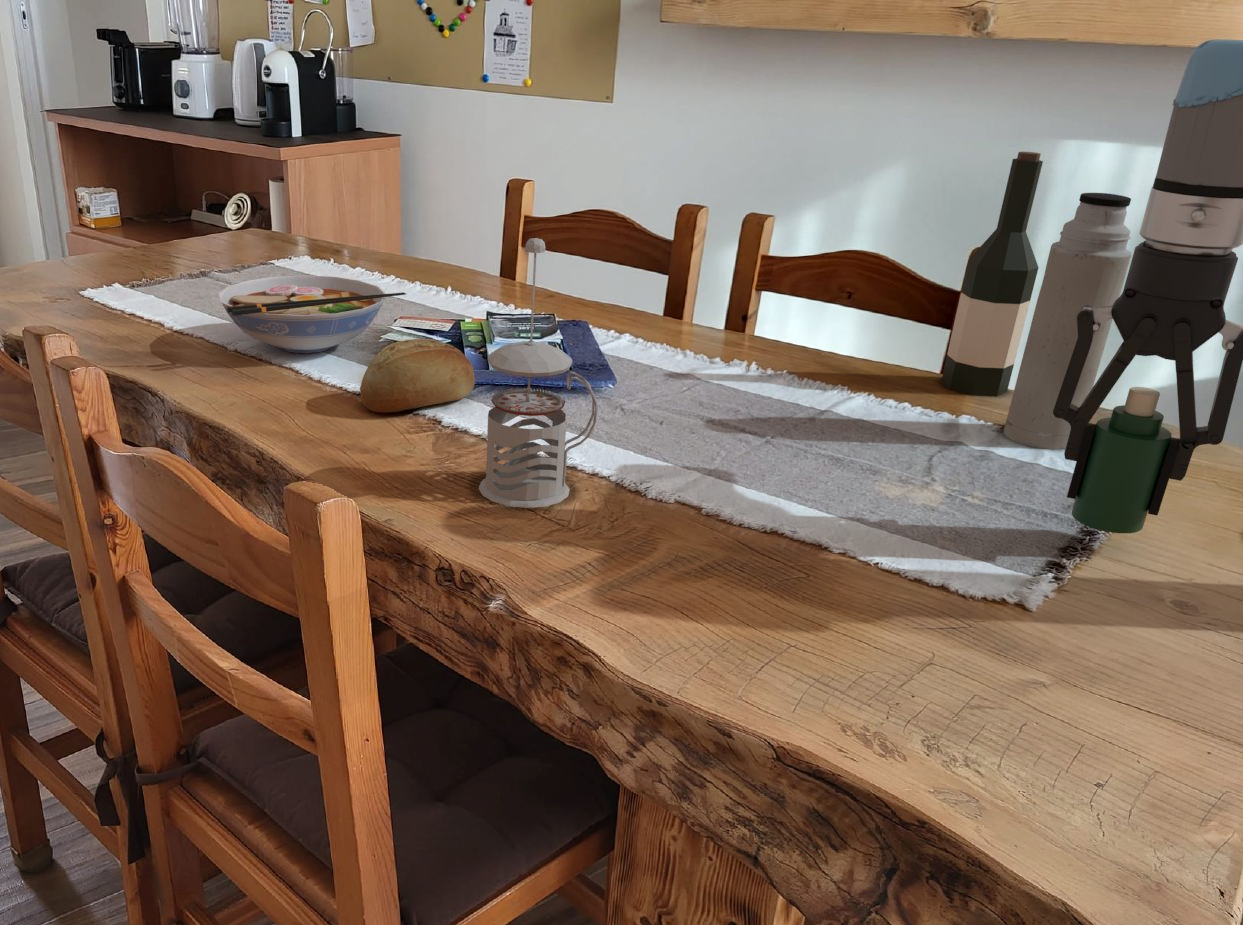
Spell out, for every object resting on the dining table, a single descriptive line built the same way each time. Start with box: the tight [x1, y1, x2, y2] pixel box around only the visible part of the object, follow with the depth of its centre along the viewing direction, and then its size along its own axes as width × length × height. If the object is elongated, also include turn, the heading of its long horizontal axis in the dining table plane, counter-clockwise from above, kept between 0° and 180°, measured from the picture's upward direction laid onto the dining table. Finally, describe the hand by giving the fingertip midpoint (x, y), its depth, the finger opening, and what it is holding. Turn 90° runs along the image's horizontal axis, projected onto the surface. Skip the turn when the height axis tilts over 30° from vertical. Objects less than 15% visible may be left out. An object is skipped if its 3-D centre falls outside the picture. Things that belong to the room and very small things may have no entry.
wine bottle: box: [940, 151, 1044, 398], centre depth 138 cm, size 8×8×30 cm
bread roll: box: [359, 338, 476, 414], centre depth 129 cm, size 10×15×8 cm, turn 124°
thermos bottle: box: [1003, 192, 1133, 451], centre depth 122 cm, size 8×8×28 cm
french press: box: [478, 237, 599, 509], centre depth 103 cm, size 10×12×25 cm
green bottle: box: [1071, 386, 1173, 534], centre depth 98 cm, size 6×6×12 cm
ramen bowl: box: [217, 274, 407, 354], centre depth 149 cm, size 25×23×8 cm
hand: (1112, 500), depth 99 cm, fingers closed on green bottle, 6 cm apart
